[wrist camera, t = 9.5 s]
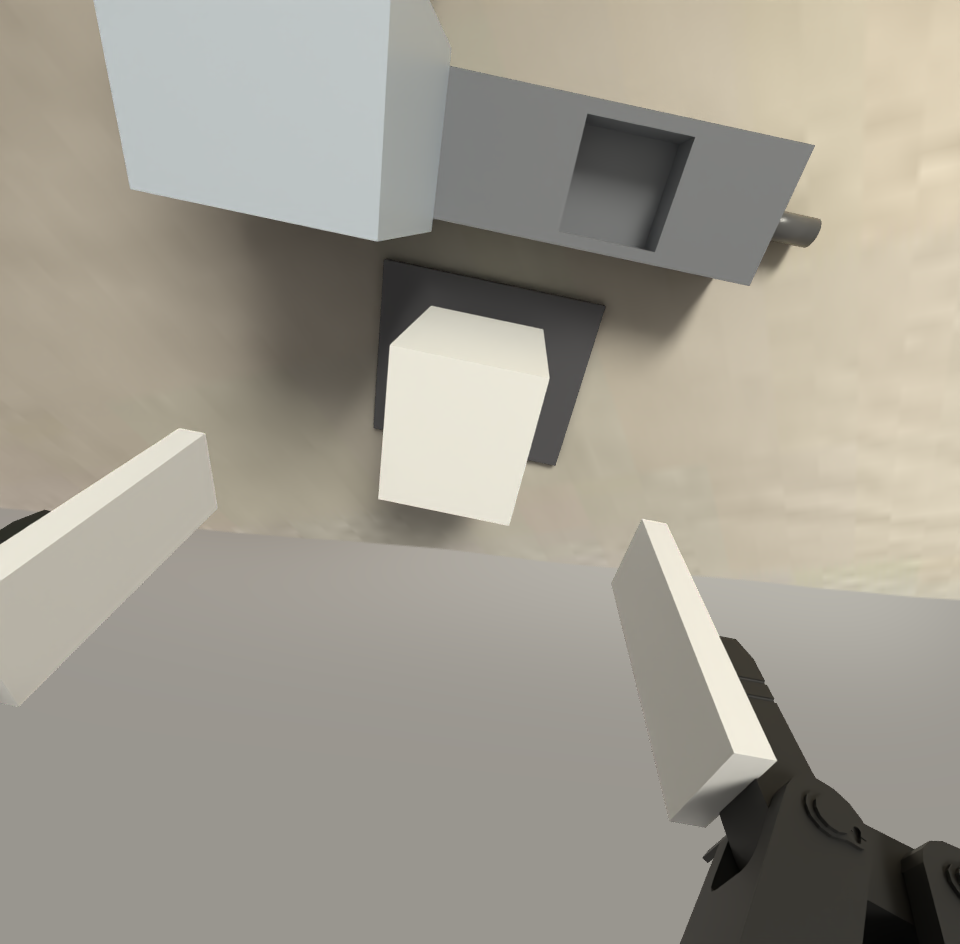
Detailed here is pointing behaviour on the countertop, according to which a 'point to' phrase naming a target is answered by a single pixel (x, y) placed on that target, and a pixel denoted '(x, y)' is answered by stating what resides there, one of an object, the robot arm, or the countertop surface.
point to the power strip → (616, 178)
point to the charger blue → (283, 107)
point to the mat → (558, 316)
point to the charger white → (461, 413)
